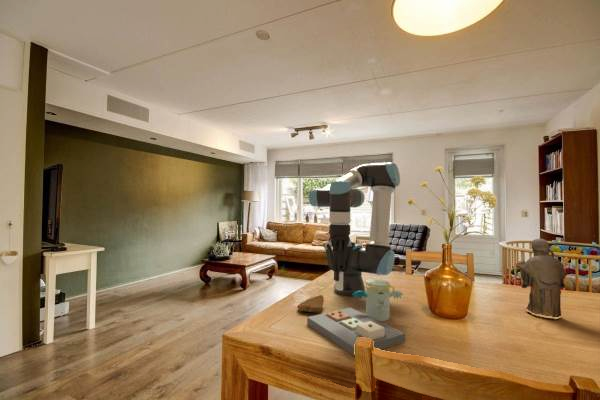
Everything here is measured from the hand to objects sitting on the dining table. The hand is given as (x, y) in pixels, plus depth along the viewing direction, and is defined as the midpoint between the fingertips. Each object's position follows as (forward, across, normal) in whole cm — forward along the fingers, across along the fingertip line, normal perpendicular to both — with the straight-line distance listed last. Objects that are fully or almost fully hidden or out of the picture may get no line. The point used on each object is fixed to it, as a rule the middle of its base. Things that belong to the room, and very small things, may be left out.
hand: (339, 289), depth 104 cm
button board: (+12, 0, +8) cm, 15 cm away
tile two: (+12, 0, +8) cm, 14 cm away
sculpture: (+13, -77, +31) cm, 84 cm away
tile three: (+12, 0, 0) cm, 12 cm away
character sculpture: (+13, -17, +3) cm, 21 cm away
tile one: (+10, 0, +16) cm, 19 cm away
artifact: (+13, +1, -17) cm, 21 cm away
